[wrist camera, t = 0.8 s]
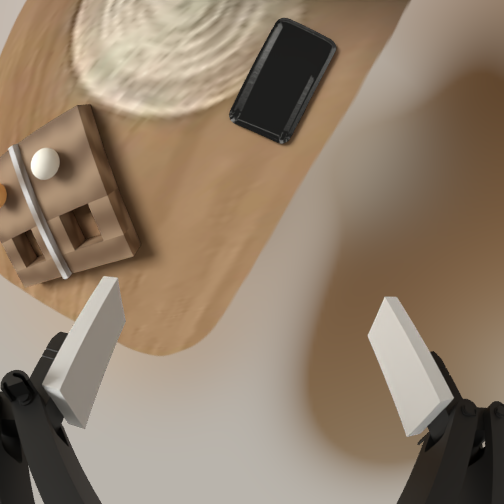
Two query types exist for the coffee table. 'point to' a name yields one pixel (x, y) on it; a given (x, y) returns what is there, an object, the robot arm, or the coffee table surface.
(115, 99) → the coffee table surface
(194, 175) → the coffee table surface
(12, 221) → the putting board
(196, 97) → the coffee table surface
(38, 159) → the cream ball
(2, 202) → the orange ball
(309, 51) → the phone
